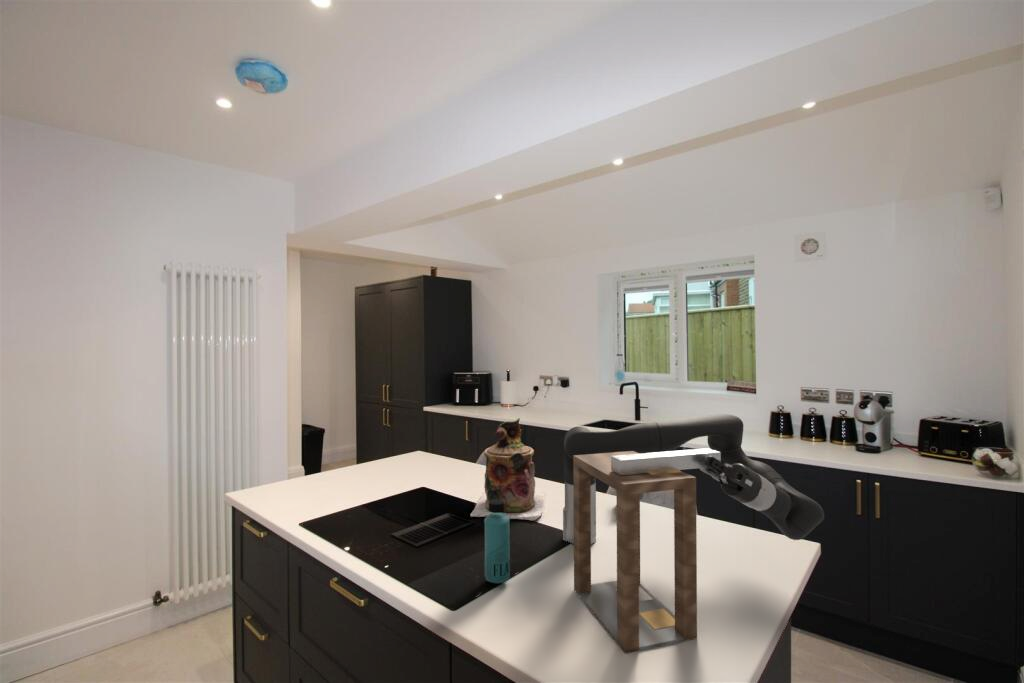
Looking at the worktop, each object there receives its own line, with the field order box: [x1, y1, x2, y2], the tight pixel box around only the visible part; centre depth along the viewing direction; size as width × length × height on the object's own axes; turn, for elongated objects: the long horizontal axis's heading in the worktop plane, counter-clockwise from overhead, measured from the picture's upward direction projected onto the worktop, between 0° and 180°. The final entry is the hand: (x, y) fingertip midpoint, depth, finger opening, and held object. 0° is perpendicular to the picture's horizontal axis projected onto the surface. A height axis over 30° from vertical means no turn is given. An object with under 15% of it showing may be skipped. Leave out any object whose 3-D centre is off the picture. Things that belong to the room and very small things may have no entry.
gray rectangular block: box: [611, 447, 722, 475], centre depth 100 cm, size 24×4×3 cm, turn 106°
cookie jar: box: [470, 417, 547, 521], centre depth 169 cm, size 25×25×32 cm
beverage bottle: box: [483, 500, 511, 584], centre depth 116 cm, size 6×7×20 cm
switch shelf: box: [573, 451, 698, 654], centre depth 103 cm, size 16×24×32 cm, turn 16°
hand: (694, 455), depth 102 cm, fingers open, 8 cm apart
